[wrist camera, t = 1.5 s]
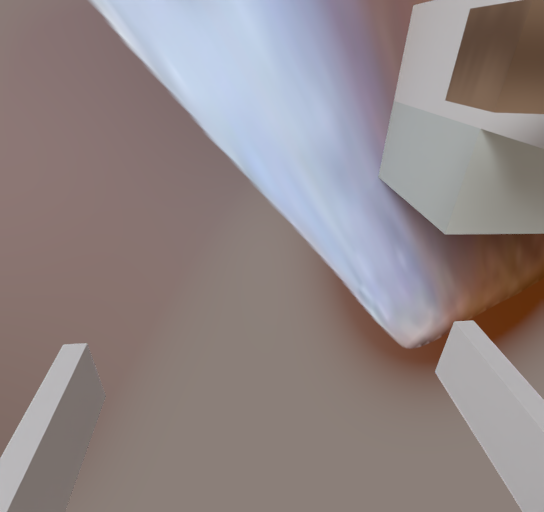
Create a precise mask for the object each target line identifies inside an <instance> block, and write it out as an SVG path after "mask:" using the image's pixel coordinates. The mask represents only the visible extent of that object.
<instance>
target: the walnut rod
mask: <svg viewBox="0 0 544 512" xmlns="http://www.w3.org/2000/svg"><path fill="white" fill-rule="evenodd" d="M445 101H449V102H453V103H457V104H461V105H465V106H469V107H473V108H477V109H482V110H486V111H490V112H494V113H522V114H544V0H520V1H514V2H508V3H502V4H495V5H489V6H483V7H477V8H471V9H470V11H469V15H468V18H467V22H466V26H465V29H464V33H463V37H462V40H461V44H460V48H459V51H458V55H457V59H456V62H455V66H454V70H453V73H452V77H451V81H450V84H449V88H448V92H447V95H446V99H445Z"/></svg>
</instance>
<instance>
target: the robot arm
mask: <svg viewBox="0 0 544 512" xmlns="http://www.w3.org/2000/svg"><path fill="white" fill-rule="evenodd" d="M435 373H436V374H437V376H438V378H439V379H440V381H441V382H442V384H443V386H444V387H445V389H446V390H447V392H448V394H449V395H450V397H451V398H452V400H453V402H454V403H455V405H456V406H457V408H458V410H459V411H460V413H461V414H462V416H463V417H464V419H465V421H466V422H467V424H468V425H469V427H470V429H471V430H472V432H473V433H474V435H475V437H476V438H477V440H478V441H479V443H480V444H481V446H482V448H483V449H484V451H485V452H486V454H487V456H488V457H489V459H490V461H491V462H492V464H493V465H494V467H495V468H496V470H497V472H498V473H499V475H500V476H501V478H502V480H503V481H504V483H505V484H506V486H507V488H508V489H509V491H510V492H511V494H512V496H513V497H514V499H515V500H516V502H517V503H518V505H519V507H520V508H521V510H522V512H544V400H543V399H542V398H541V396H540V395H539V394H538V393H537V392H536V391H535V390H534V389H533V387H532V386H531V385H530V384H529V383H528V382H527V381H526V380H525V378H524V377H523V376H522V375H521V374H520V373H519V372H518V370H517V369H516V368H515V367H514V366H513V365H512V364H511V363H510V361H508V359H507V358H506V357H505V356H504V355H503V354H502V352H501V351H500V350H499V349H498V348H497V347H496V346H495V344H494V343H493V342H492V341H491V340H490V339H489V338H488V337H487V335H486V334H485V333H484V332H483V331H482V330H481V329H480V327H479V326H478V325H477V324H476V323H475V322H474V321H456V322H454V323H453V326H452V329H451V331H450V334H449V336H448V339H447V342H446V345H445V347H444V350H443V352H442V355H441V358H440V360H439V363H438V366H437V368H436V370H435ZM105 397H106V396H105V392H104V390H103V387H102V384H101V381H100V378H99V375H98V373H97V370H96V367H95V364H94V361H93V358H92V355H91V353H90V350H89V347H88V344H87V343H83V344H66V345H63V346H62V348H61V350H60V352H59V354H58V355H57V357H56V359H55V361H54V362H53V364H52V366H51V368H50V370H49V371H48V373H47V375H46V377H45V379H44V380H43V382H42V384H41V386H40V388H39V389H38V391H37V393H36V395H35V397H34V399H33V400H32V402H31V404H30V406H29V408H28V409H27V411H26V413H25V415H24V416H23V418H22V420H21V422H20V424H19V426H18V427H17V429H16V431H15V433H14V435H13V436H12V438H11V440H10V442H9V444H8V445H7V447H6V449H5V451H4V453H3V454H2V456H1V458H0V512H65V510H66V508H67V505H68V502H69V499H70V496H71V494H72V491H73V488H74V485H75V482H76V479H77V476H78V474H79V470H80V468H81V465H82V462H83V460H84V457H85V454H86V451H87V448H88V445H89V442H90V439H91V437H92V434H93V431H94V428H95V425H96V423H97V420H98V417H99V414H100V411H101V408H102V405H103V403H104V400H105Z"/></svg>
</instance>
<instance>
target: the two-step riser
mask: <svg viewBox="0 0 544 512" xmlns="http://www.w3.org/2000/svg"><path fill="white" fill-rule="evenodd" d="M514 1H520V0H434V1H430V2H426V3H421V4H417V5H413V10H412V15H411V20H410V25H409V30H408V34H407V39H406V44H405V49H404V54H403V59H402V64H401V69H400V73H399V78H398V83H397V88H396V93H395V98H394V103H393V108H392V113H391V117H390V122H389V127H388V132H387V137H386V142H385V147H384V152H383V156H382V161H381V166H380V171H379V176H378V177H379V178H380V179H381V180H383V181H384V182H385V183H386V184H387V185H388V186H389V187H391V188H392V189H393V190H394V191H395V192H396V193H398V194H399V195H400V196H401V197H402V198H403V199H405V200H406V201H407V202H408V203H409V204H410V205H412V206H413V207H414V208H415V209H416V210H417V211H418V212H420V213H421V214H422V215H423V216H424V217H425V218H427V219H428V220H429V221H430V222H431V223H432V224H434V225H435V226H436V227H437V228H438V229H439V230H440V231H442V232H443V233H444V234H445V235H447V234H544V114H522V113H494V112H490V111H486V110H482V109H477V108H473V107H469V106H465V105H461V104H457V103H453V102H449V101H445V99H446V95H447V92H448V88H449V84H450V81H451V77H452V73H453V70H454V66H455V62H456V59H457V55H458V51H459V48H460V44H461V40H462V37H463V33H464V29H465V26H466V22H467V18H468V15H469V11H470V9H471V8H477V7H483V6H489V5H495V4H502V3H508V2H514Z"/></svg>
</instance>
